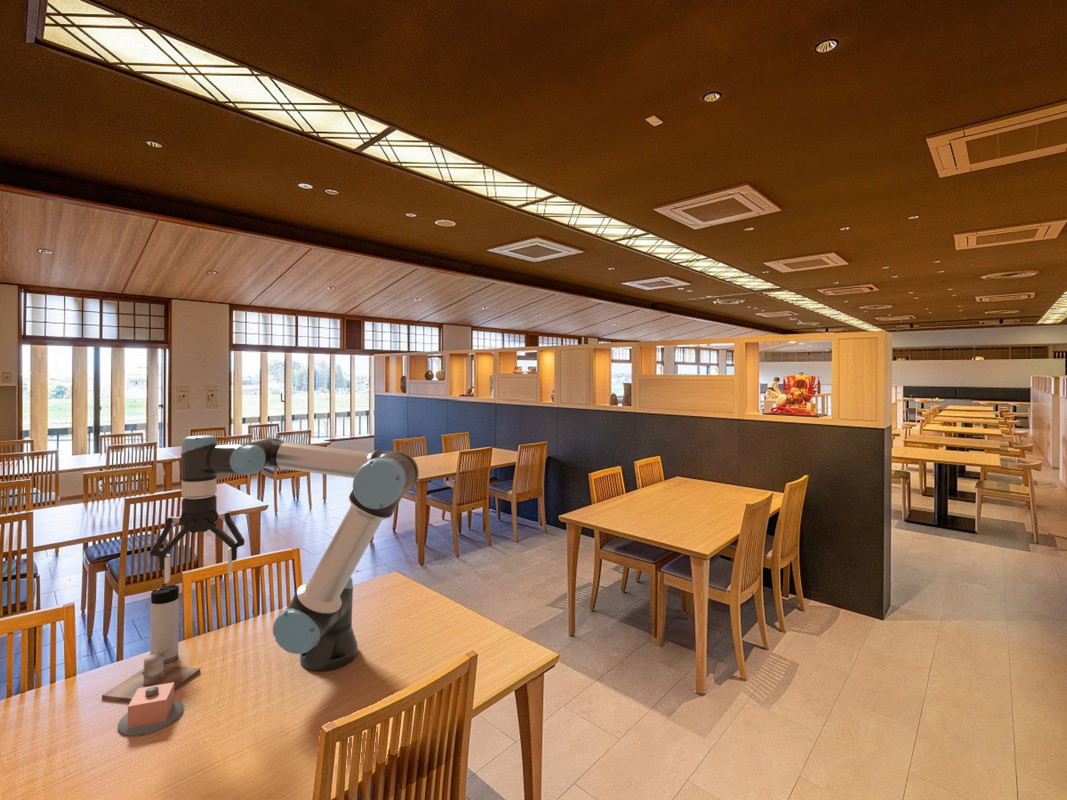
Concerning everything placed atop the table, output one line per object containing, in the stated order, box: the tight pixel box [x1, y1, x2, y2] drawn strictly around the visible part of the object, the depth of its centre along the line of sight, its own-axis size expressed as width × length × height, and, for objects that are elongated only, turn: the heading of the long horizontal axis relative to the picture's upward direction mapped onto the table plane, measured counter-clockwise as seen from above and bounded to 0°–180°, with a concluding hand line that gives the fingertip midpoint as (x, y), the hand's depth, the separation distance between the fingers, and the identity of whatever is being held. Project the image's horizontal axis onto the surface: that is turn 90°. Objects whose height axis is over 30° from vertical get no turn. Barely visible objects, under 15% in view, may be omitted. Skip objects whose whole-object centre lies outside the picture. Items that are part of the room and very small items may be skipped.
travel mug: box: [149, 584, 180, 665], centre depth 138 cm, size 6×7×20 cm
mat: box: [117, 698, 185, 737], centre depth 115 cm, size 12×12×1 cm
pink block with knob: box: [127, 682, 175, 729], centre depth 115 cm, size 7×7×6 cm
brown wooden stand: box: [101, 654, 201, 704], centre depth 127 cm, size 14×14×7 cm
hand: (199, 577), depth 130 cm, fingers open, 13 cm apart
